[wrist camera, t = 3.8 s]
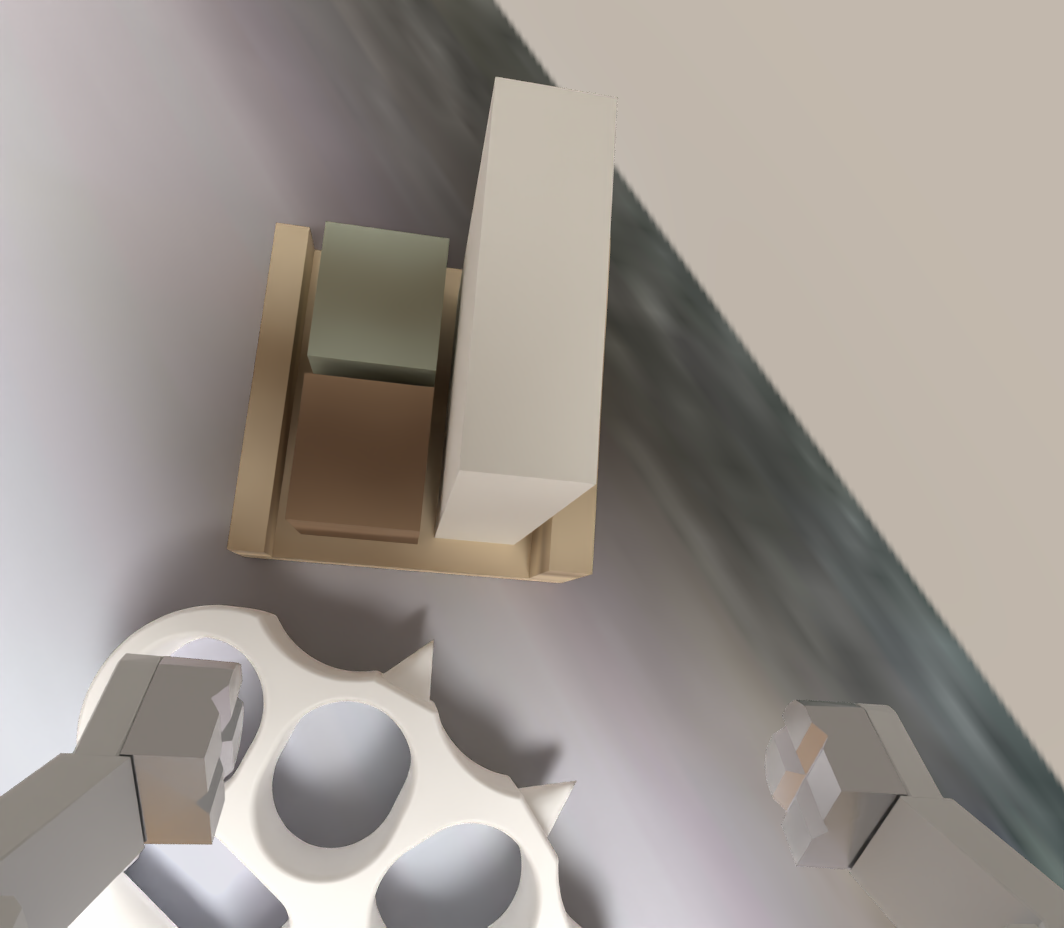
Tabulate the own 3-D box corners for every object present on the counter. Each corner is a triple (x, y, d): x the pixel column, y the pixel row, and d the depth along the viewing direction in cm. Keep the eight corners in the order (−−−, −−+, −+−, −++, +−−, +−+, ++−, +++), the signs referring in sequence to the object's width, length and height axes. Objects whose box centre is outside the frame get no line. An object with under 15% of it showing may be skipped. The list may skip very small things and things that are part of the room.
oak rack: (560, 583, 26) (592, 574, 22) (243, 556, 25) (210, 542, 21) (578, 297, 28) (610, 237, 24) (287, 259, 27) (265, 187, 23)
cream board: (514, 544, 25) (596, 484, 15) (434, 537, 25) (459, 470, 14) (532, 307, 27) (617, 97, 16) (457, 297, 27) (495, 76, 16)
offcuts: (417, 544, 25) (419, 531, 21) (300, 534, 24) (284, 518, 21) (443, 288, 27) (449, 238, 23) (335, 274, 26) (325, 221, 23)
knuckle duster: (-100, 879, 22) (299, 507, 26) (363, 1352, 22) (703, 906, 25) (-186, 923, 19) (284, 490, 23) (356, 1480, 19) (746, 946, 22)
